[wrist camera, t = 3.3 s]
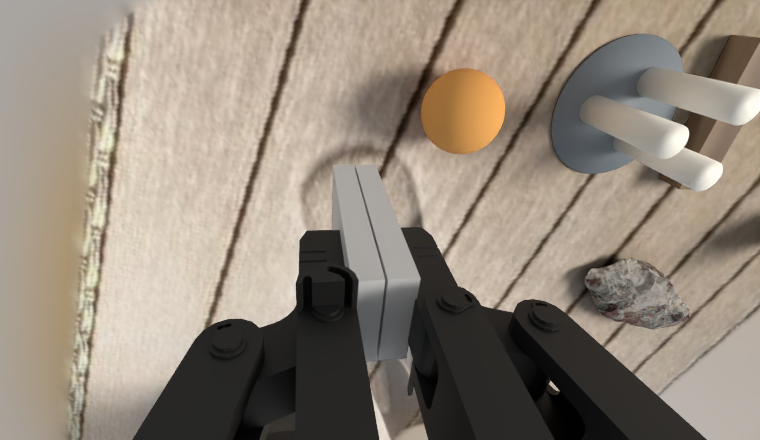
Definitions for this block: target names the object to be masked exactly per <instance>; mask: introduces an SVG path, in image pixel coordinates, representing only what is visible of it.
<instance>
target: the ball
mask: <svg viewBox="0 0 760 440" xmlns="http://www.w3.org/2000/svg"><path fill="white" fill-rule="evenodd" d="M504 116H505V102H504V97H503V94H502V92H501V90H500V88H499V86H498V85H497V84H496V82H495V81H494V80H493V79H492V78H491V77H489V76H488V75H487V74H485V73H483V72H481V71H478V70H474V69H468V68H467V69H456V70H453V71H450V72H448V73H445V74H444V75H442V76H441V77H439V78H438V79H437V80H436V81H435V82H434V83H433V84H432V85H431V86H430V87H429V89H428V90H427V92H426V94H425V96H424V99H423V102H422V107H421V120H422V125H423V128H424V131H425V133H426V135H427V136H428V138H429V139H430V140H431V141H432V142H433V143H434V144H435V145H436V146H437V147H438V148H440V149H442V150H444V151H447V152H449V153H454V154H467V153H471V152H475V151H477V150H480V149H481V148H483V147H485V146H486V145H487V144H489V143H490V142H491V141H492V140H493V139H494V138H495V136H496V135H497V134H498V132H499V130H500V128H501V126H502V124H503V120H504Z"/></svg>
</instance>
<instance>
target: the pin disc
mask: <svg viewBox="0 0 760 440" xmlns="http://www.w3.org/2000/svg"><path fill="white" fill-rule="evenodd" d="M652 67H660V68H664V69H669V70H673V71H678V72H683V73H684V69H683V64H682V60H681V58H680V55H679V53H678V52H677V50H676V49H675V47H674V46H673V45H672V44H671V43H669V42H668V41H666V40H665V39H663V38H661V37H658V36H654V35H649V34H635V35H629V36H625V37H622V38H619V39H617V40H614V41H612V42H610V43H608V44H606V45H605V46H603V47H601V48H600V49H598V50H597V51H596V52H594V53H593V54H592V55H591V56H589V57H588V58H587V59H586V60H585V61H584V62H583V63H582V64H581V65H580V66H579V67H578V68H577V69H576V70H575V72H574V73H573V74H572V76H571V77H570V78H569V80H568V81H567V83H566V85H565V86H564V88H563V90H562V92H561V94H560V96H559V98H558V100H557V103H556V106H555V109H554V113H553V117H552V124H551V136H552V143H553V146H554V149H555V151H556V153H557V155H558V157H559V158H560V159H561V161H562V162H563V163H565V164H566V165H567V166H569V167H570V168H572V169H574V170H576V171H578V172H582V173H590V174H596V173H604V172H608V171H612V170H615V169H617V168H620V167H622V166H624V165H626V164H628V163H630V162H631V161H633V160H634V159H632V158H630V157H628V156H626V155H624V154H623V153H621V152H619V151H617V150H615V149H614V147H613V140H614V138H615V137H614V136H612V135H610V134H607V133H605V132H603V131H601V130H599V129H597V128H595V127H593V126H591V125H589V124H586V123H584V122H583V121H582V120H581V119H580V116H579V112H580V108H581V106H582V104H583V103H584V102H585V101H586V100H587V99H588V98H590V97H592V96H594V95H600V96H603V97H606V98H608V99H611V100H614V101H617V102H620V103H622V104H625V105H628V106H631V107H634V108H636V109H639V110H642V111H645V112H648V113H650V114H653V115H656V116H659V117H662V118H664V119H667V120H670V121H671V120H672V118H673V116H674V114H675V112H676V110H677V107H675V106H672V105H669V104H665V103H662V102H659V101H656V100H653V99H650V98H646V97H643V96H640V95H639V94H638V93H637V89H636V87H637V82H638V80H639V78H640V77H641V75H642V74H643V73H644V72H645V71H646V70H648V69H649V68H652Z"/></svg>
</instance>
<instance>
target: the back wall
mask: <svg viewBox="0 0 760 440" xmlns="http://www.w3.org/2000/svg"><path fill="white" fill-rule="evenodd" d="M710 79H715V80H719V81H724V82H728V83H733V84H738V85H742V86H747V87H751V88H756V89H760V38H757V37H747V36H736V35H731V36H730V38H729V40H728V42H727V44H726V46H725V48H724V50H723V52H722V54H721V56H720V58H719V60H718V62H717V64H716V66H715V68H714V70H713V72H712V74H711V76H710ZM685 126H686V127H687V128H688V130H689V138H688V141H687V143H686V145H685V146H684V148H687V149H689V150H691V151H694V152H696V153H699V154H701V155H704V156H706V157H708V158H711V159H713V160H716V161H718V162H720V163H721V161H722V160H723V158H724V156H725V155H726V153H727V151H728V149H729V148H730V146H731V144H732V143H733V141H734V139H735V138H736V136H737V134H738V132H739V131H740V129H741V127H742V126H743V124H742V125H732V124H729V123H726V122H723V121H719V120H716V119H713V118H710V117H707V116H704V115H700V114H697V113H694V112H692V113H691V115H690V117H689V119H688V121H687V123H686V125H685ZM659 179H661V180H663V181H665V182H667V183H669V184H671V185H672V186H674V187H676V188H678V189H691V188H689V187H687V186H685V185H683V184H681V183H679V182H677V181H675V180H673V179H671V178H669V177H667V176H665V175H663V174H660V176H659Z"/></svg>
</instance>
